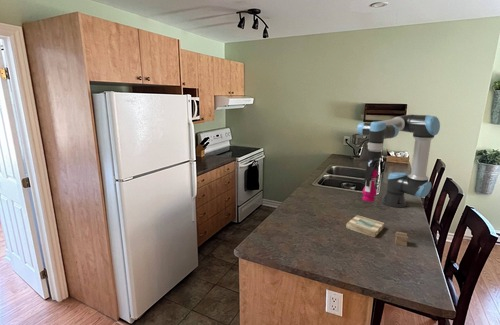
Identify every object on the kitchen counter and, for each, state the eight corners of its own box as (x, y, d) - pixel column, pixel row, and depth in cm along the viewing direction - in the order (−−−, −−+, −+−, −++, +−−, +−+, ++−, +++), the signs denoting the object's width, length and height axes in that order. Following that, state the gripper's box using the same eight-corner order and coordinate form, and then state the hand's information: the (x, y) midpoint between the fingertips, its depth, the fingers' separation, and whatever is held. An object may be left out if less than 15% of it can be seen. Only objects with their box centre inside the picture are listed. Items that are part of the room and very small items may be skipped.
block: (394, 239, 146) (396, 231, 144) (405, 241, 144) (406, 233, 143) (395, 244, 141) (397, 235, 140) (406, 246, 139) (407, 237, 138)
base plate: (356, 219, 169) (357, 214, 169) (383, 227, 159) (384, 223, 158) (346, 227, 158) (346, 223, 157) (374, 237, 147) (375, 232, 147)
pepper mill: (367, 202, 150) (371, 168, 145) (358, 198, 157) (363, 164, 152) (378, 201, 152) (382, 167, 147) (369, 197, 158) (373, 164, 154)
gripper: (373, 147, 157) (369, 184, 162) (361, 151, 143) (356, 192, 148) (387, 149, 152) (382, 187, 157) (375, 153, 138) (370, 195, 143)
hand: (369, 190), depth 153 cm, fingers closed on pepper mill, 6 cm apart
